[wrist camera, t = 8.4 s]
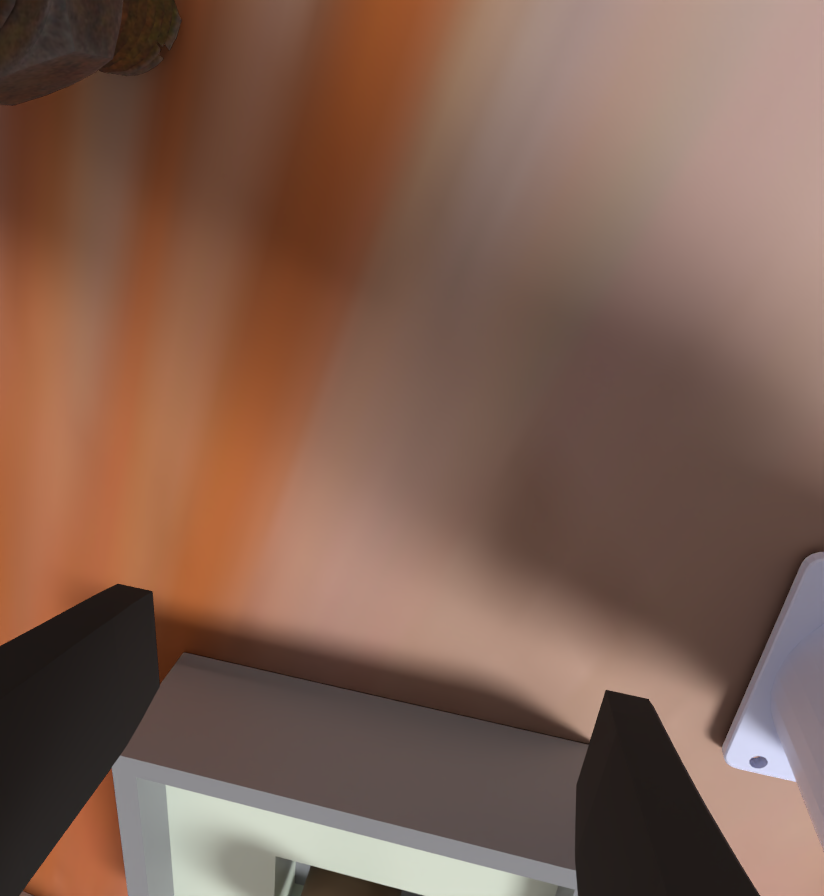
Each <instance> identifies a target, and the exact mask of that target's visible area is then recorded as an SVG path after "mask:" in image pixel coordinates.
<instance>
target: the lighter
mask: <svg viewBox="0 0 824 896" xmlns="http://www.w3.org/2000/svg"><path fill="white" fill-rule="evenodd" d="M20 896H33V895H30V894H28V893H26V892H24V891H22V893H21V894H20Z"/></svg>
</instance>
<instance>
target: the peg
mask: <svg viewBox="0 0 824 896" xmlns="http://www.w3.org/2000/svg"><path fill="white" fill-rule="evenodd" d="M401 892H402V890H401V889H398V888H394V887H390V886H386V885H382V884H379V883H375V882H371V881H367V880H364V879H360V878H356V877H352V876H349V875H345V874H341V873H337V872H333V871H330V870H326V869H322V868H318V867H315V866H310V869H309V872H308V875H307V878H306V881H305V884H304V887H303V890H302V893H301V896H401Z"/></svg>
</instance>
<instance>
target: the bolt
mask: <svg viewBox="0 0 824 896" xmlns="http://www.w3.org/2000/svg"><path fill="white" fill-rule="evenodd" d="M181 21H182V20H181V18H180V16H179V13H178V10H177V7H176V4H175V1H174V0H0V105H11V106H13V105H17V104H20V103H23V102H26V101H29V100H33V99H36V98H39V97H42V96H46V95H48V94H50V93H53V92H55V91H58V90H60V89H63V88H65V87H68V86H70V85H73V84H74V83H76V82H78V81H80V80H82V79H84V78H86V77H88V76H90V75H91V74H93V73H95V72H96V71H98V70H99V71H102V72H105V73H112V74H120V75H125V76H132V75H139V74H142V73H145V72H148V71H149V70H151V69H152V68H154V67H156V66H157V65H158V64H159V63H160V62H161V61H162V60H163V59H164V58H162V57H161V56H160V54H159V52H160V51H161V50H160V47H159V45H158V43H159V44H160V45H161V46H162V47H163V46H164V44H165V45H166V47H167V48H168V49H169V50H170V49H171V47H172V44H173V42H174V40H176V38H177V34H178V31H179V28H180V24H181ZM157 42H158V43H157Z"/></svg>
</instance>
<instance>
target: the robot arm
mask: <svg viewBox="0 0 824 896" xmlns="http://www.w3.org/2000/svg"><path fill="white" fill-rule="evenodd" d="M159 687H160V683H159V670H158V657H157V644H156V631H155V618H154V605H153V592H152V591H149V590H144V589H140V588H135V587H130V586H126V585H121V584H116V585H114V586H112V587H110V588H108V589H106V590H104V591H102V592H100V593H98V594H96V595H94V596H93V597H91V598H89V599H87V600H85V601H83V602H81V603H79V604H78V605H76V606H74V607H72V608H70V609H68V610H66V611H65V612H63V613H61V614H59V615H57V616H55V617H54V618H52V619H50V620H48V621H46V622H44V623H43V624H41V625H39V626H37V627H35V628H33V629H31V630H30V631H28V632H26V633H24V634H22V635H20V636H18V637H16V638H15V639H13V640H11V641H9V642H7V643H5V644H3V645H1V646H0V896H20V894H21V893H22V891H23V890H24V888H25V887H26V885H27V884H28V882H29V881H30V880H31V878H32V877H33V875H34V874H35V873H36V871H37V870H38V869H39V867H40V866H41V864H42V863H43V862H44V860H45V859H46V858H47V856H48V855H49V853H50V852H51V851H52V849H53V848H54V847H55V845H56V844H57V842H58V841H59V840H60V838H61V837H62V836H63V834H64V833H65V831H66V830H67V829H68V827H69V826H70V825H71V823H72V822H73V820H74V819H75V818H76V816H77V815H78V813H79V812H80V811H81V809H82V808H83V807H84V805H85V804H86V802H87V801H88V800H89V798H90V797H91V796H92V794H93V793H94V791H95V790H96V789H97V787H98V786H99V784H100V783H101V782H102V780H103V779H104V777H105V776H106V775H107V773H108V772H109V770H110V769H111V768H112V766H113V765H114V763H115V762H116V761H117V759H118V758H119V756H120V755H121V753H122V752H123V751H124V749H125V748H126V746H127V745H128V743H129V741H130V740H131V738H132V736H133V734H134V733H135V731H136V729H137V727H138V726H139V724H140V722H141V720H142V719H143V717H144V715H145V713H146V711H147V709H148V707H149V706H150V704H151V702H152V700H153V698H154V696H155V694H156V693H157V691H158V689H159ZM722 753H723V756H724V759H725V761H726V763H727V764H728V765H730V766H732V767H734V768H737V769H741V770H746V771H750V772H755V773H759V774H763V775H768V776H772V777H777V778H781V779H786V780H790V781H794V782H797V785H798V787H799V790H800V792H801V795H802V797H803V800H804V802H805V805H806V808H807V810H808V813H809V815H810V818H811V820H812V823H813V825H814V828H815V831H816V833H817V836H818V838H819V841H820V843H821V846H822V848H823V851H824V552H817V553H814V554H811V555H810V556H808V557H806V558H805V559H804V561H803V562H802V564H801V566H800V568H799V570H798V573H797V575H796V577H795V580H794V582H793V584H792V586H791V589H790V591H789V593H788V596H787V598H786V600H785V603H784V605H783V607H782V610H781V612H780V614H779V616H778V619H777V621H776V623H775V626H774V628H773V630H772V633H771V635H770V637H769V640H768V642H767V644H766V646H765V649H764V651H763V653H762V656H761V658H760V660H759V663H758V665H757V667H756V669H755V672H754V674H753V676H752V679H751V681H750V683H749V686H748V688H747V690H746V693H745V695H744V697H743V699H742V702H741V704H740V706H739V709H738V711H737V713H736V716H735V718H734V720H733V723H732V725H731V727H730V729H729V732H728V734H727V736H726V739H725V741H724V743H723V746H722ZM755 756H761V757H758V758H752V757H755ZM575 866H576V879H577V891H578V896H760V895H759V893H758V892H757V890H756V888H755V887H754V885H753V884H752V882H751V880H750V879H749V877H748V876H747V874H746V872H745V871H744V869H743V867H742V866H741V864H740V863H739V861H738V859H737V858H736V856H735V854H734V853H733V851H732V849H731V847H730V846H729V844H728V842H727V841H726V839H725V837H724V836H723V834H722V832H721V830H720V829H719V827H718V825H717V824H716V822H715V820H714V818H713V817H712V815H711V813H710V812H709V810H708V808H707V806H706V805H705V803H704V801H703V799H702V797H701V796H700V794H699V792H698V790H697V789H696V787H695V785H694V783H693V781H692V779H691V777H690V776H689V774H688V772H687V770H686V768H685V766H684V765H683V763H682V761H681V759H680V757H679V755H678V753H677V751H676V749H675V748H674V746H673V744H672V742H671V740H670V738H669V736H668V734H667V732H666V730H665V728H664V726H663V724H662V722H661V720H660V718H659V716H658V714H657V712H656V710H655V708H654V707H653V705H652V704H651V702H650V701H649V699H646V698H641V697H636V696H632V695H627V694H623V693H618V692H613V691H609V690H606V691H605V694H604V698H603V701H602V704H601V707H600V710H599V714H598V717H597V720H596V723H595V727H594V730H593V733H592V736H591V739H590V743H589V746H588V749H587V752H586V755H585V759H584V762H583V765H582V768H581V772H580V775H579V778H578V781H577V784H576V816H575Z"/></svg>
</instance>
